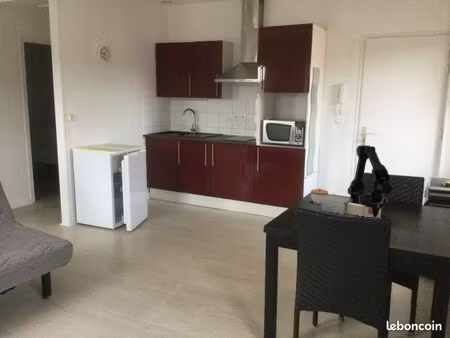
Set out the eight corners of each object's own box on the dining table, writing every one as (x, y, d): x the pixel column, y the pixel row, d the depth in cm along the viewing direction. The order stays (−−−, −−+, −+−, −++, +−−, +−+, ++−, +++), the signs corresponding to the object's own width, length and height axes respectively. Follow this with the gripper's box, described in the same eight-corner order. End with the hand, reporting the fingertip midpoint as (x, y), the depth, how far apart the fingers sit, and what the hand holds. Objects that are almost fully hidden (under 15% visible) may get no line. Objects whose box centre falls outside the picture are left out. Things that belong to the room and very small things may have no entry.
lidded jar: (323, 206, 256) (324, 191, 255) (307, 203, 263) (308, 188, 261) (330, 202, 265) (331, 188, 263) (314, 199, 271) (315, 185, 269)
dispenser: (328, 206, 255) (329, 195, 253) (351, 211, 246) (352, 199, 244) (320, 210, 246) (321, 198, 245) (344, 215, 237) (345, 202, 236)
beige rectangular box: (348, 212, 243) (348, 202, 242) (380, 218, 231) (381, 208, 230) (345, 213, 241) (346, 203, 239) (378, 219, 229) (379, 209, 228)
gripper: (370, 184, 240) (367, 210, 243) (357, 190, 226) (355, 217, 229) (389, 187, 233) (387, 214, 236) (378, 193, 219) (375, 221, 222)
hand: (376, 216), depth 231 cm, fingers closed on beige rectangular box, 3 cm apart
